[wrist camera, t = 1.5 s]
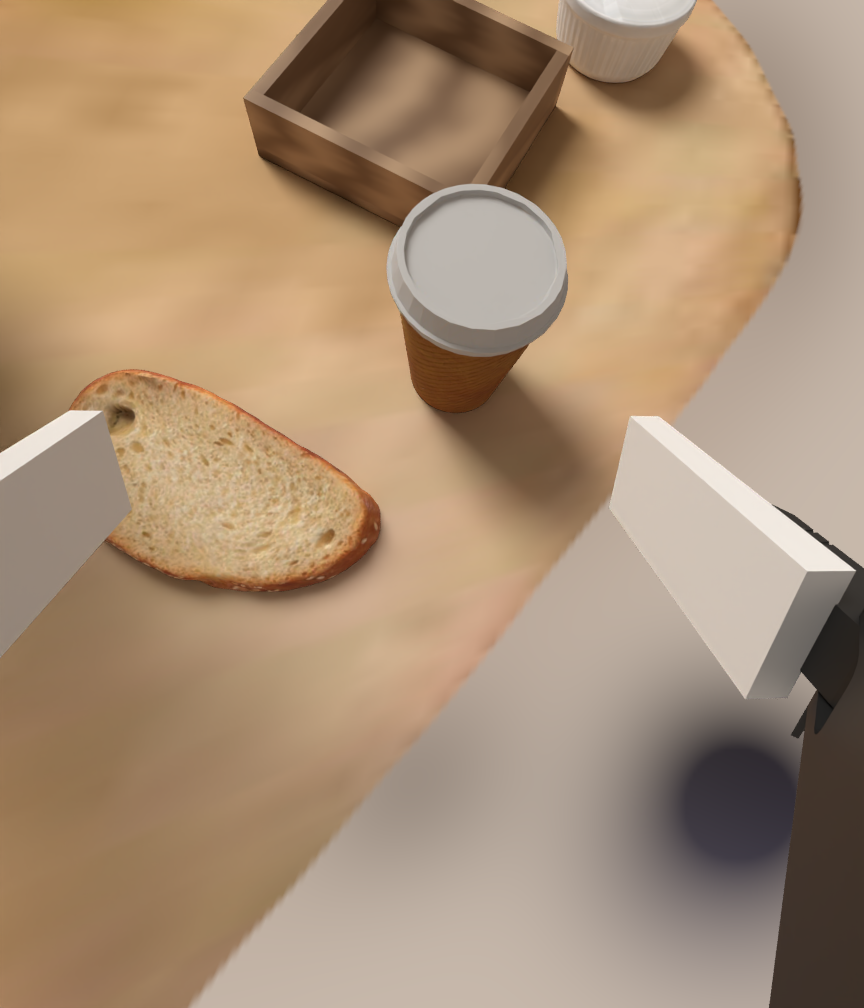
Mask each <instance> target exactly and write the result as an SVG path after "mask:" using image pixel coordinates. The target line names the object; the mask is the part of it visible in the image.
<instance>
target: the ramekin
mask: <svg viewBox="0 0 864 1008" xmlns="http://www.w3.org/2000/svg"><path fill="white" fill-rule="evenodd" d="M696 1H697V0H559V6H558V15H557V27H556V34H557V40H559V41H561V42H563V43H565V44H567V45H570V46H572V47H574V49H573V52H572V55H571V59H570V62H569V64H570V65H571V66H572V67H574V68H575V69H576V70H577V71H579V72H580V73H582V74H583V75H585V76H587V77H589V78H592V79H594V80H598V81H602V82H608V83H621V82H628V81H632V80H634V79H637V78H639V77H640V76H642V75H644V74H645V73H647V72H649V71H650V70H651V69H652V68H653V67H654V66H655V65H656V64H657V63H658V61H659V60H660V58H661V57H662V55H663V54H664V52H665V51H666V49H667V48H668V46H669V44H670V43H671V41H672V40H673V38H674V36H675V35H676V33H677V32H678V30H679V28H680V27H681V26H682V25H683V24H684V23H685V22H686V21H687V19H688V18H689V16H690V14H691V13H692V10H693V8H694V6H695V4H696Z"/></svg>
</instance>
